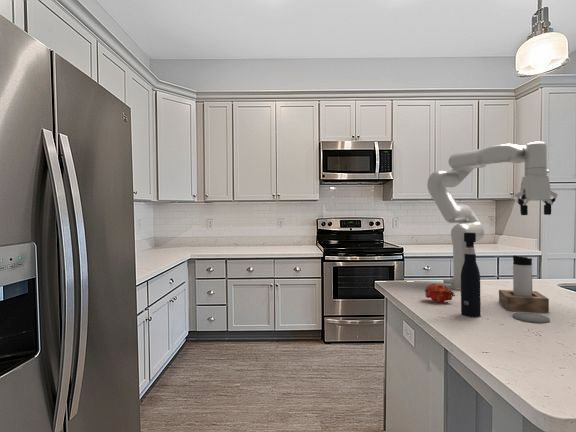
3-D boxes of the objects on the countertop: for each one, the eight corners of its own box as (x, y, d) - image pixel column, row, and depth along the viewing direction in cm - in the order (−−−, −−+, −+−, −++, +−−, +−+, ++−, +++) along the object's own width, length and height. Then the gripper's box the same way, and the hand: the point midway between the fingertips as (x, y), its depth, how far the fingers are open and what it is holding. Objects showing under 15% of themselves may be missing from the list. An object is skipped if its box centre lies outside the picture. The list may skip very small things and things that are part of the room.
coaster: (517, 322, 124) (517, 320, 124) (508, 313, 134) (508, 311, 134) (555, 324, 120) (555, 322, 120) (543, 314, 131) (543, 313, 131)
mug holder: (507, 310, 138) (507, 296, 138) (499, 301, 150) (498, 289, 150) (548, 312, 134) (548, 298, 134) (536, 303, 146) (536, 291, 146)
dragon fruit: (423, 303, 156) (452, 311, 149) (419, 295, 150) (450, 303, 143) (428, 285, 160) (458, 292, 153) (425, 276, 154) (455, 284, 147)
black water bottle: (479, 313, 135) (478, 232, 134) (482, 318, 129) (481, 233, 128) (460, 311, 137) (459, 232, 136) (462, 316, 131) (461, 233, 130)
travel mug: (509, 305, 145) (508, 255, 144) (524, 304, 145) (524, 254, 145) (520, 309, 139) (519, 257, 138) (536, 308, 139) (536, 256, 139)
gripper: (549, 173, 152) (549, 214, 153) (508, 174, 152) (509, 215, 152) (563, 171, 145) (563, 214, 145) (520, 172, 144) (521, 215, 145)
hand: (535, 214), depth 149 cm, fingers open, 9 cm apart
